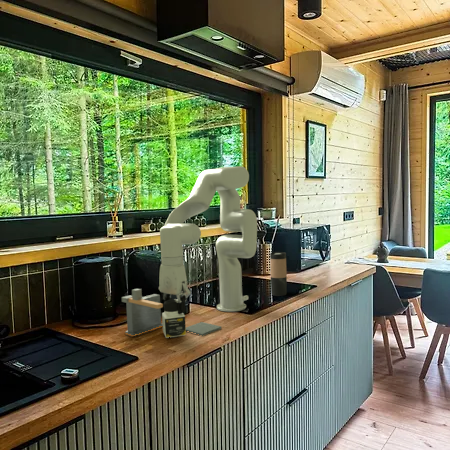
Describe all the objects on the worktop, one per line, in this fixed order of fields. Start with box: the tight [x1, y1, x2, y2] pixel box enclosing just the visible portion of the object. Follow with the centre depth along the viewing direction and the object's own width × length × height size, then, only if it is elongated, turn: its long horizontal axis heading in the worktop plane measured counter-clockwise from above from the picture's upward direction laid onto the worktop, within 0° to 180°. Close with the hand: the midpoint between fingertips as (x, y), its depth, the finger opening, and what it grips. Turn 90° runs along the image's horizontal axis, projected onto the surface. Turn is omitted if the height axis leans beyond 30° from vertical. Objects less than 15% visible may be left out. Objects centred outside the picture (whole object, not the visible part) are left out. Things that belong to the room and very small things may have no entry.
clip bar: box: [121, 288, 164, 309], centre depth 145 cm, size 4×19×5 cm, turn 49°
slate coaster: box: [186, 321, 222, 337], centre depth 155 cm, size 10×10×1 cm
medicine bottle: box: [161, 298, 187, 339], centre depth 150 cm, size 7×7×12 cm
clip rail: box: [125, 293, 163, 335], centre depth 156 cm, size 14×4×12 cm, turn 139°
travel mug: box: [269, 251, 288, 297], centre depth 204 cm, size 8×8×20 cm
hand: (175, 310), depth 150 cm, fingers closed on medicine bottle, 6 cm apart
